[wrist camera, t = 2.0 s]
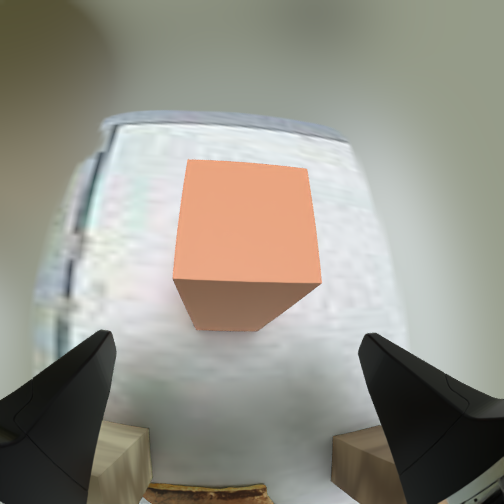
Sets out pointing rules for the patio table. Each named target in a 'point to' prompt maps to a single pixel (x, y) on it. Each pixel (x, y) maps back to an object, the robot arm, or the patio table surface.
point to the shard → (205, 495)
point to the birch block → (120, 465)
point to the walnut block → (366, 467)
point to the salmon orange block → (244, 243)
